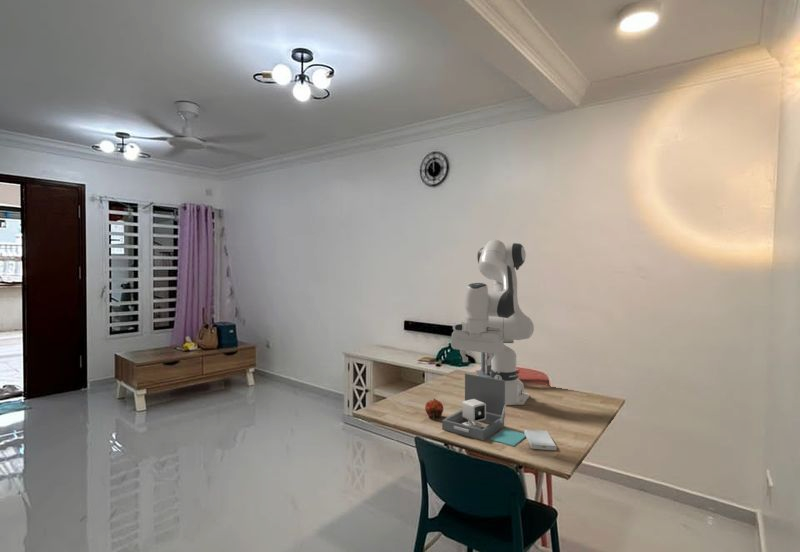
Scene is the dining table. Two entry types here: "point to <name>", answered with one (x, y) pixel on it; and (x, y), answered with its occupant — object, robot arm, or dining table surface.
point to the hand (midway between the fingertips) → (476, 363)
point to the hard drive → (540, 440)
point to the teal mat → (508, 437)
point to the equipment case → (487, 393)
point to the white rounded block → (473, 412)
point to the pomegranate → (434, 408)
